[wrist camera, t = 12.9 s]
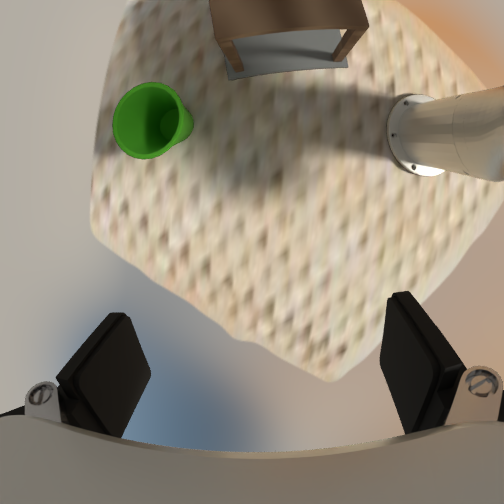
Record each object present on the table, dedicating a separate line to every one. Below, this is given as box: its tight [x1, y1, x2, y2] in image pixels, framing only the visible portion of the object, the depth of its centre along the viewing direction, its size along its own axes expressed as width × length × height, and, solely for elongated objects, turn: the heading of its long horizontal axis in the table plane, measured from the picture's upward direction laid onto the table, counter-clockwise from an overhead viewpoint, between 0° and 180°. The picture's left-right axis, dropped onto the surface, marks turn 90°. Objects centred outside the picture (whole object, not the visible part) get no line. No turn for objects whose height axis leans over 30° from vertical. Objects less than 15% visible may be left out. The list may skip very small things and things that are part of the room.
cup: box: [112, 82, 194, 159], centre depth 33 cm, size 9×9×11 cm
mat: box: [224, 29, 348, 80], centre depth 32 cm, size 17×17×1 cm
